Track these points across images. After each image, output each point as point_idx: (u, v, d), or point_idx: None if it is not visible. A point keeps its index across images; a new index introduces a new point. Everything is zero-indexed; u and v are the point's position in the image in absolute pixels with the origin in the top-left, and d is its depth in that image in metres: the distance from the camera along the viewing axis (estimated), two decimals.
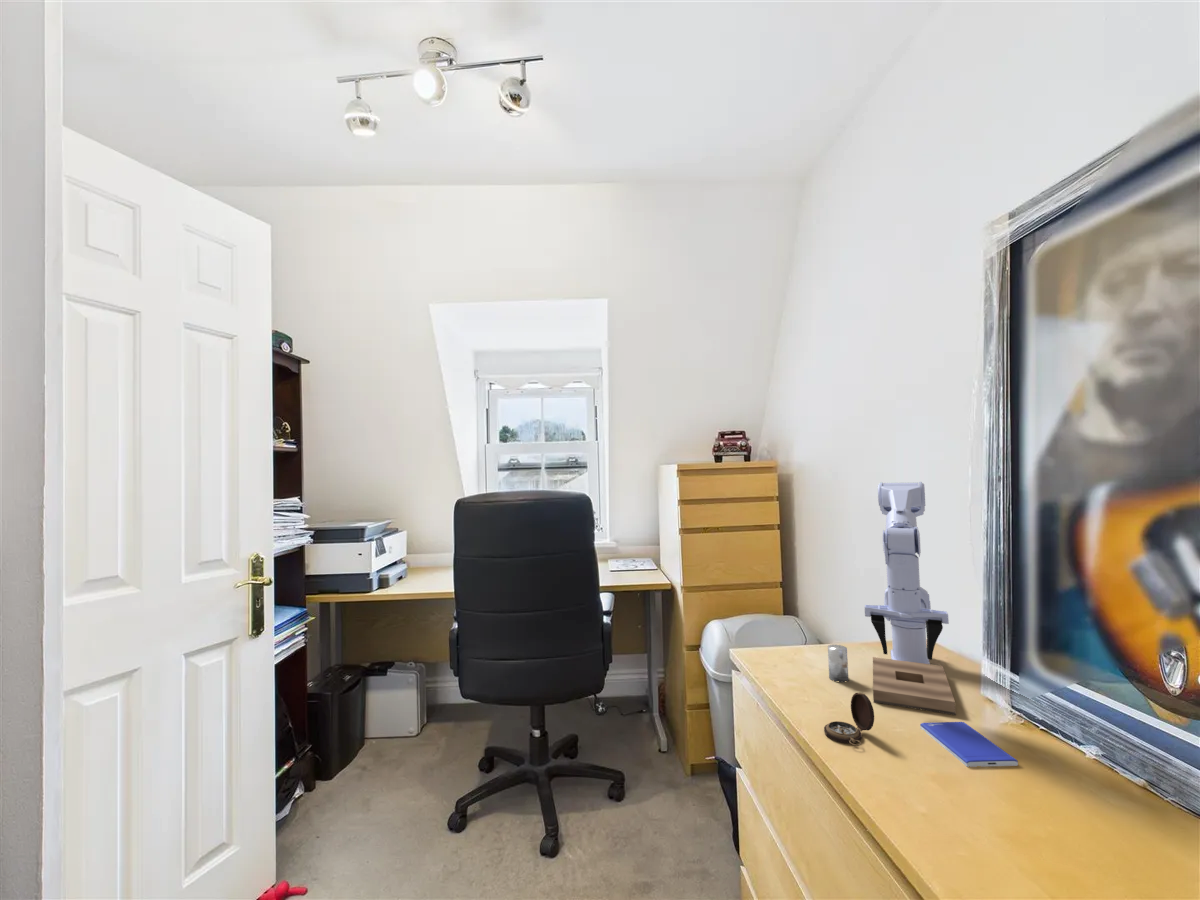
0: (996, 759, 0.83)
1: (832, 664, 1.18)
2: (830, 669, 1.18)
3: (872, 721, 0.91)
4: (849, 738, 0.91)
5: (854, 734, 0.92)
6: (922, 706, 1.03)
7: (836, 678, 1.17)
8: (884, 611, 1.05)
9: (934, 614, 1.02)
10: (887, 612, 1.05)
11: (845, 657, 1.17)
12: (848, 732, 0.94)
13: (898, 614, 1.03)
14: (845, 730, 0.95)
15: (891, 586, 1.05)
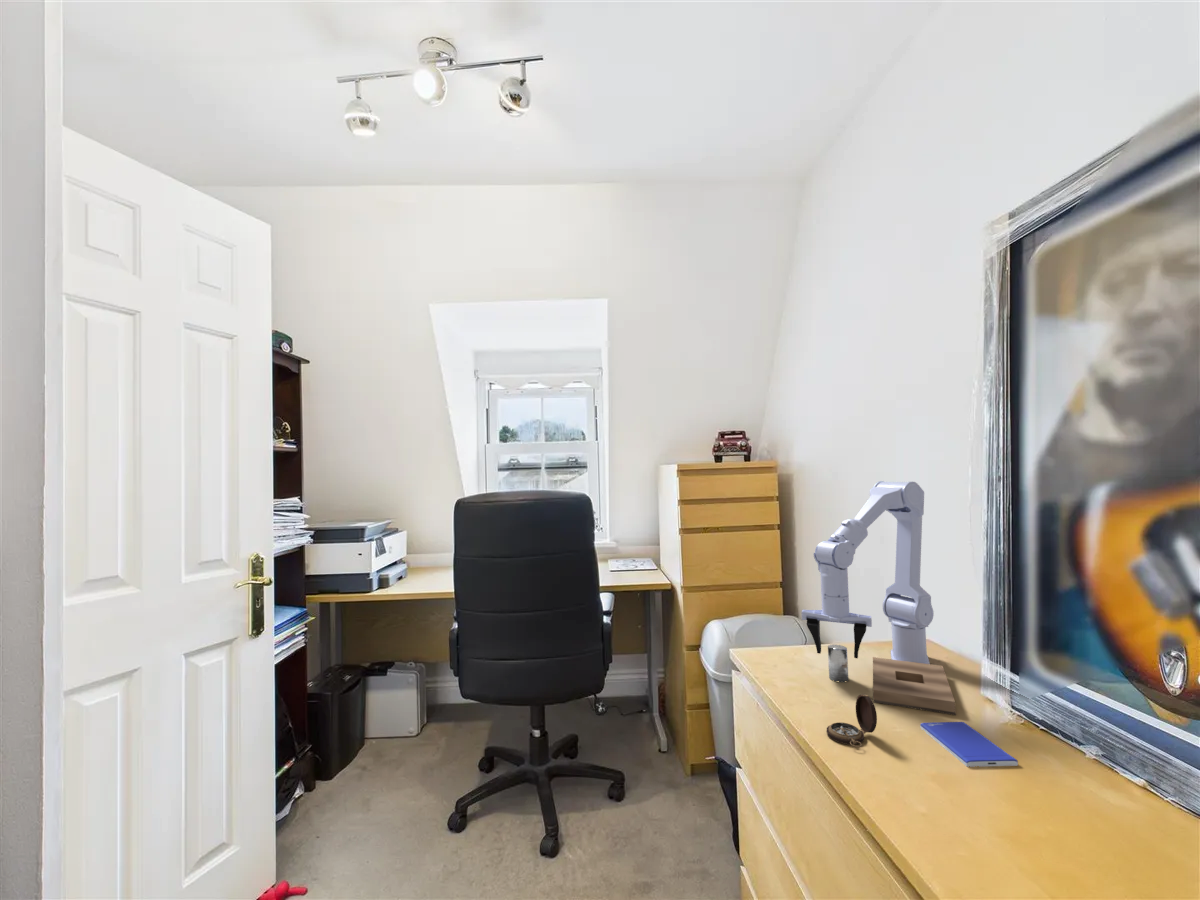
0: (996, 759, 0.83)
1: (832, 664, 1.18)
2: (830, 669, 1.18)
3: (874, 723, 0.91)
4: (850, 739, 0.91)
5: (856, 735, 0.91)
6: (922, 706, 1.03)
7: (836, 678, 1.17)
8: (817, 615, 1.19)
9: (859, 618, 1.16)
10: (820, 616, 1.19)
11: (845, 657, 1.17)
12: (851, 733, 0.93)
13: (828, 618, 1.17)
14: (848, 731, 0.94)
15: (821, 591, 1.21)
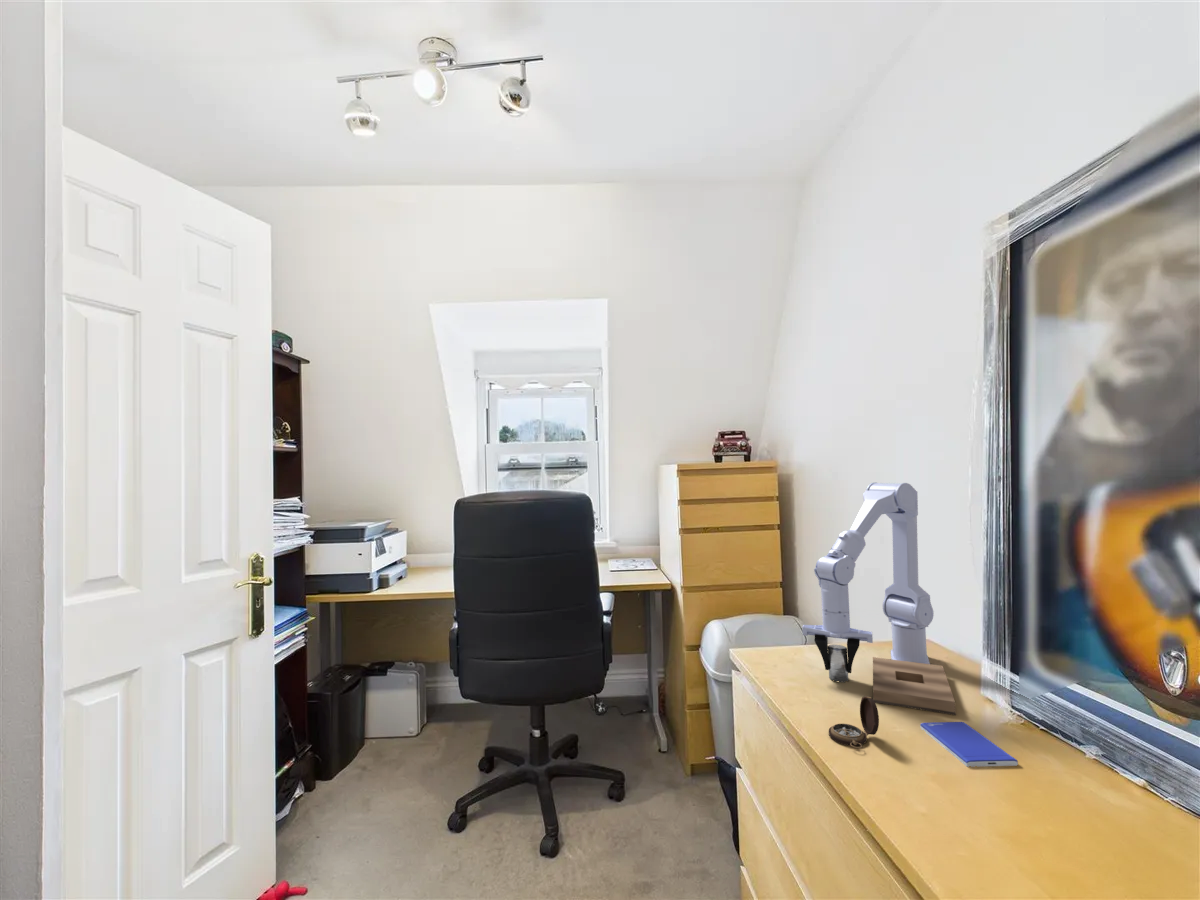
0: (996, 759, 0.83)
1: (832, 664, 1.18)
2: (830, 669, 1.18)
3: (876, 725, 0.90)
4: (851, 740, 0.90)
5: (857, 737, 0.91)
6: (922, 706, 1.03)
7: (836, 678, 1.17)
8: (818, 631, 1.19)
9: (860, 634, 1.15)
10: (820, 632, 1.19)
11: (845, 657, 1.17)
12: (853, 735, 0.93)
13: (829, 634, 1.17)
14: (851, 733, 0.94)
15: (822, 607, 1.20)
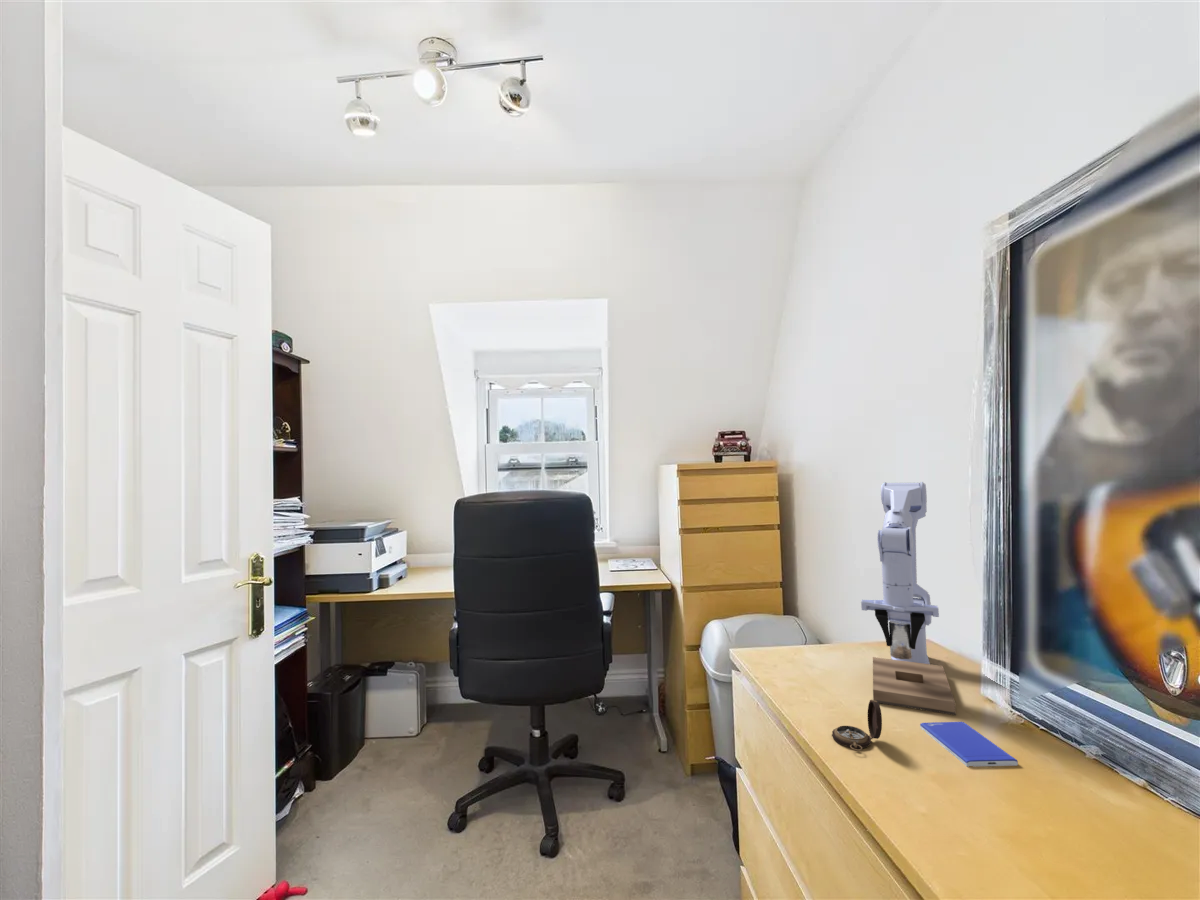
0: (996, 759, 0.83)
1: (895, 641, 1.12)
2: (892, 646, 1.13)
3: (879, 729, 0.89)
4: (852, 742, 0.90)
5: (859, 740, 0.90)
6: (922, 706, 1.03)
7: (899, 655, 1.12)
8: (879, 605, 1.14)
9: (925, 608, 1.10)
10: (882, 606, 1.13)
11: (909, 633, 1.12)
12: (857, 738, 0.92)
13: (892, 608, 1.12)
14: (855, 735, 0.93)
15: (885, 582, 1.13)
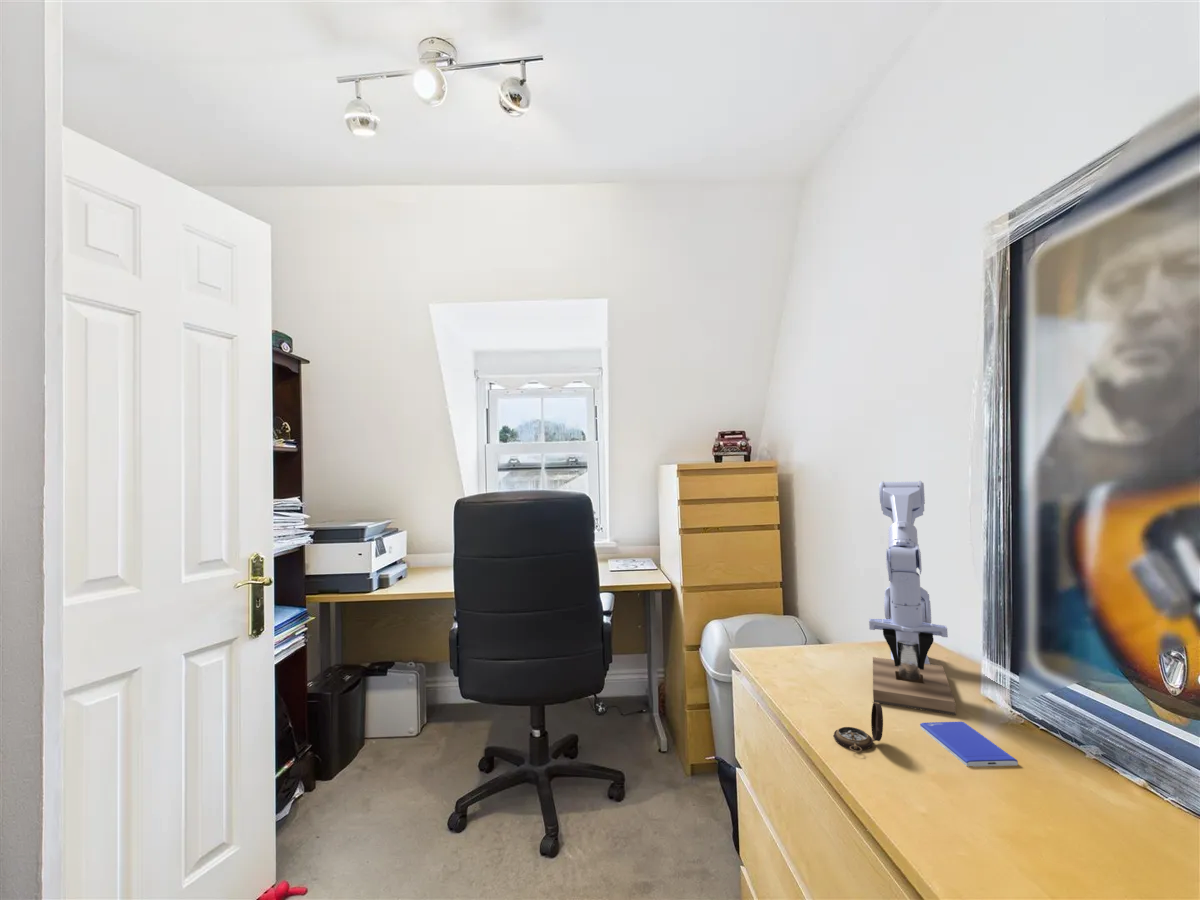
0: (996, 759, 0.83)
1: (904, 661, 1.11)
2: (901, 666, 1.12)
3: (879, 731, 0.88)
4: (853, 744, 0.89)
5: (860, 741, 0.89)
6: (922, 706, 1.03)
7: (908, 675, 1.11)
8: (887, 625, 1.13)
9: (934, 628, 1.09)
10: (890, 626, 1.12)
11: (917, 653, 1.11)
12: (859, 739, 0.91)
13: (900, 628, 1.11)
14: (857, 737, 0.92)
15: (894, 601, 1.12)
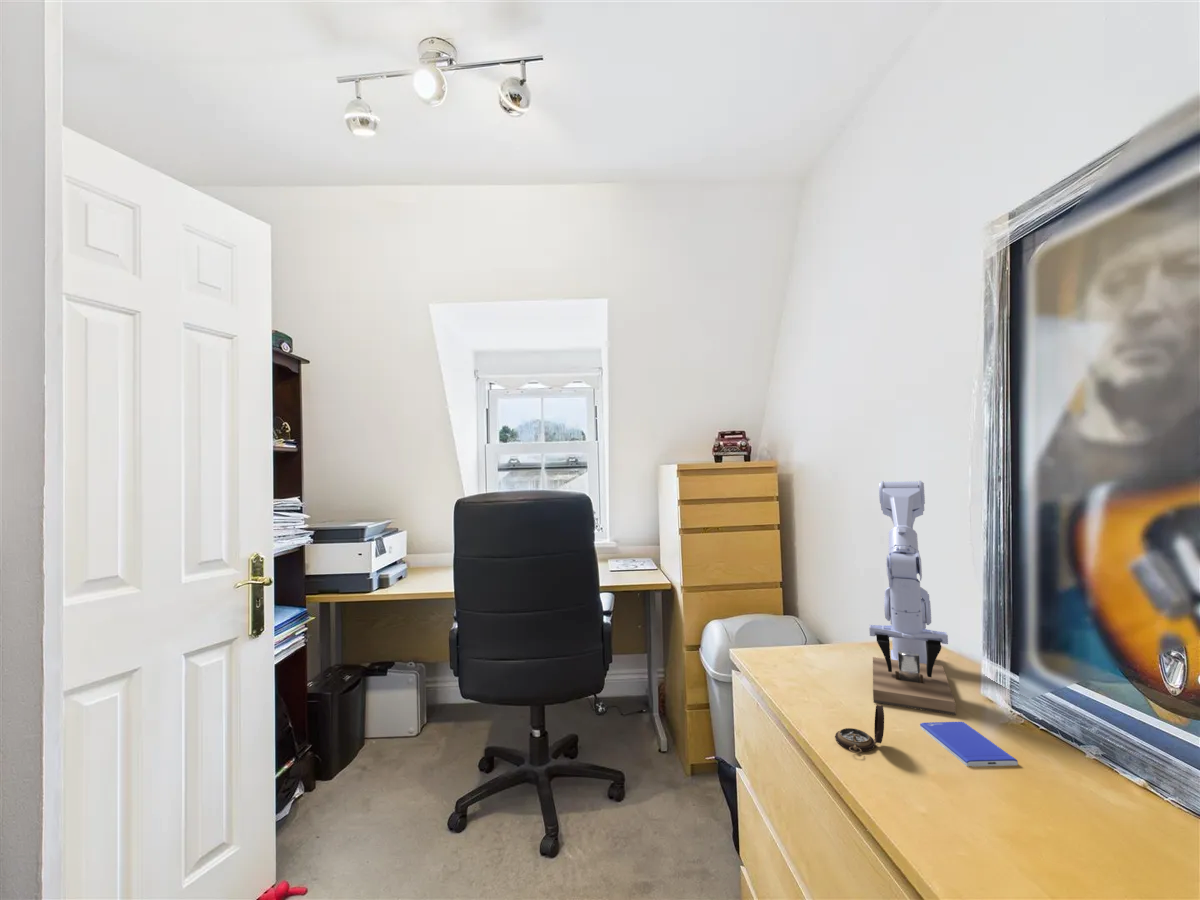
0: (996, 759, 0.83)
1: (904, 672, 1.11)
2: (901, 676, 1.12)
3: (880, 734, 0.87)
4: (853, 745, 0.89)
5: (860, 743, 0.89)
6: (922, 706, 1.03)
7: None
8: (888, 631, 1.13)
9: (934, 635, 1.09)
10: (890, 632, 1.12)
11: (918, 664, 1.11)
12: (860, 741, 0.91)
13: (901, 634, 1.11)
14: (859, 739, 0.91)
15: (894, 608, 1.12)
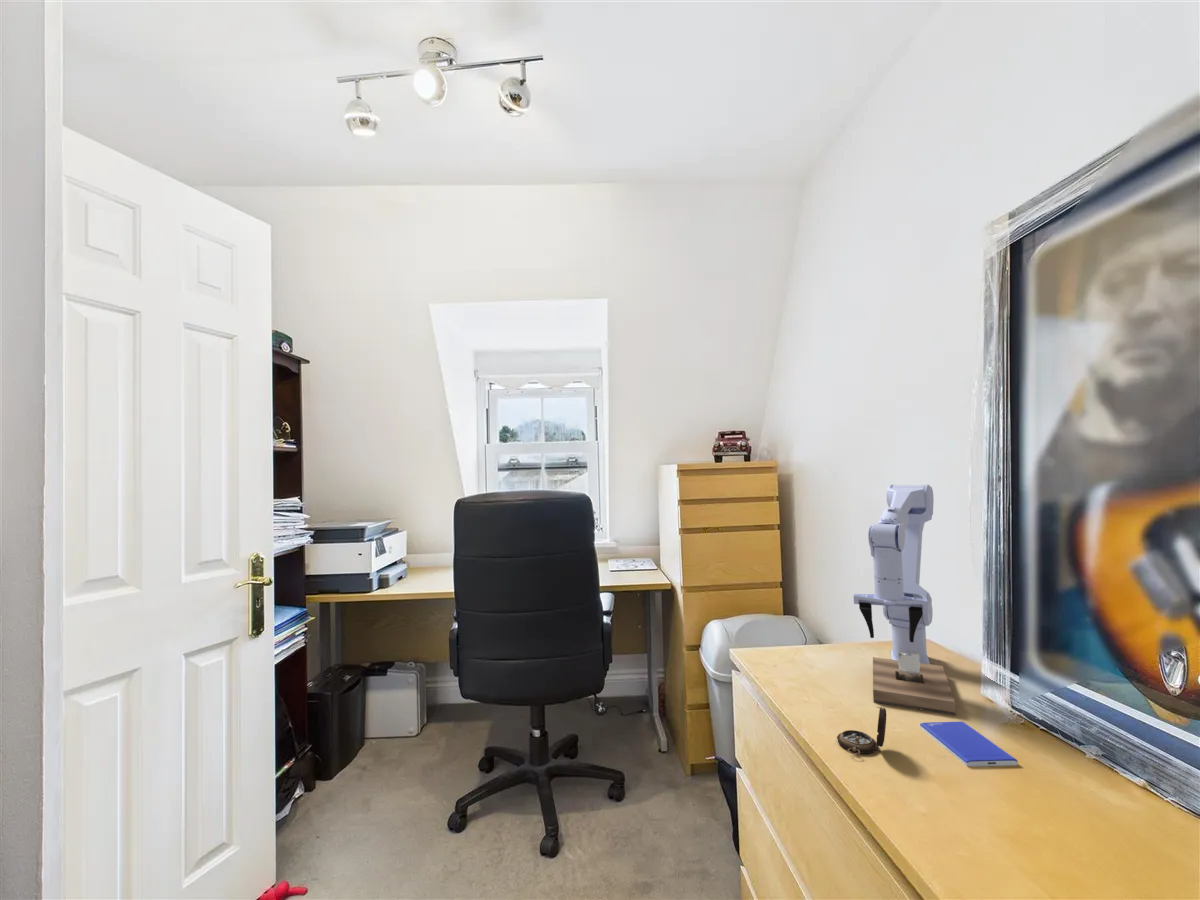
0: (996, 759, 0.83)
1: (904, 671, 1.11)
2: (901, 676, 1.12)
3: (879, 737, 0.86)
4: (852, 746, 0.89)
5: (861, 745, 0.88)
6: (922, 706, 1.03)
7: None
8: (871, 599, 1.17)
9: (915, 601, 1.13)
10: (873, 600, 1.16)
11: (918, 663, 1.11)
12: (862, 743, 0.90)
13: (883, 601, 1.15)
14: (862, 741, 0.91)
15: (875, 576, 1.17)
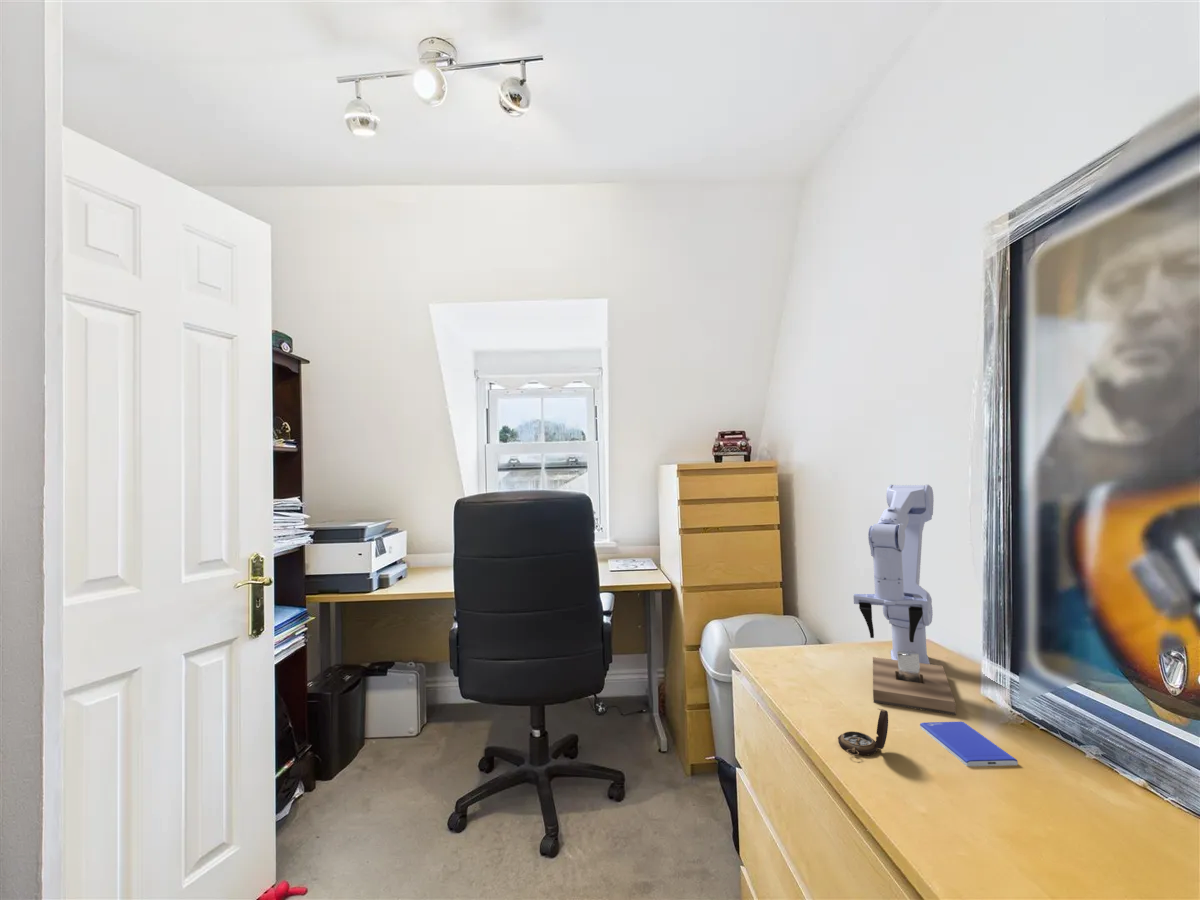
0: (996, 759, 0.83)
1: (904, 672, 1.11)
2: (901, 676, 1.12)
3: (879, 739, 0.86)
4: (852, 747, 0.88)
5: (860, 746, 0.88)
6: (922, 706, 1.03)
7: None
8: (871, 599, 1.17)
9: (915, 601, 1.13)
10: (873, 600, 1.16)
11: (917, 664, 1.11)
12: (863, 745, 0.89)
13: (883, 601, 1.15)
14: (863, 743, 0.90)
15: (875, 576, 1.17)
